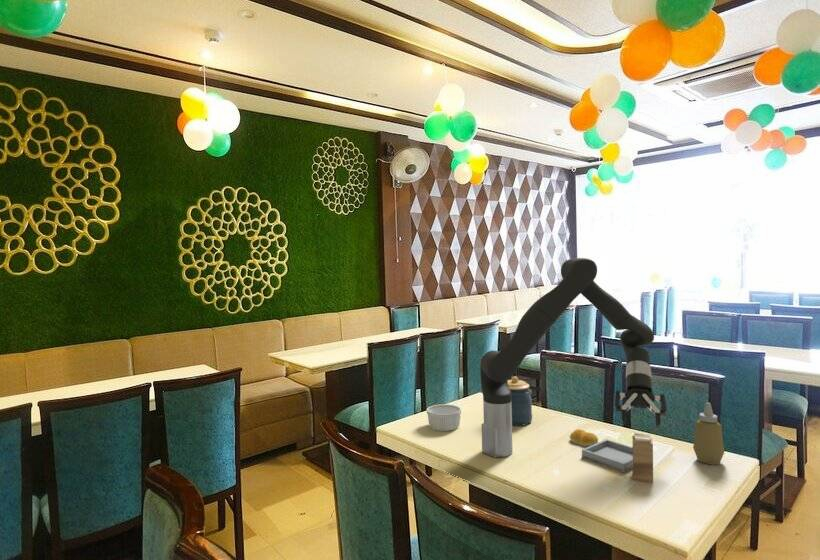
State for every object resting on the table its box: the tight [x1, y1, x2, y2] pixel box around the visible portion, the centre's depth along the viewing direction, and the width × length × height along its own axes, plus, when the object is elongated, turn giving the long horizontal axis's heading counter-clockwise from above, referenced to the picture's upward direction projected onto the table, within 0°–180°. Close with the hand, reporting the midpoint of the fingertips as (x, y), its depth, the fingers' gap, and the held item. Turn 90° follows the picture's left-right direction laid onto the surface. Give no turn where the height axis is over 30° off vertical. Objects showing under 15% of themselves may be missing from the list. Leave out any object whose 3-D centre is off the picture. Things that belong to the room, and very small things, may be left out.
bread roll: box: [569, 429, 599, 447], centre depth 161 cm, size 8×9×4 cm
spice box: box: [631, 432, 654, 483], centre depth 134 cm, size 5×5×12 cm
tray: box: [581, 438, 633, 473], centre depth 147 cm, size 14×14×2 cm
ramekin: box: [426, 403, 462, 432], centre depth 180 cm, size 13×13×7 cm
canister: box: [507, 375, 533, 426], centre depth 185 cm, size 13×13×18 cm
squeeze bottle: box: [692, 402, 725, 465], centre depth 143 cm, size 8×8×18 cm
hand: (640, 424), depth 141 cm, fingers open, 8 cm apart
